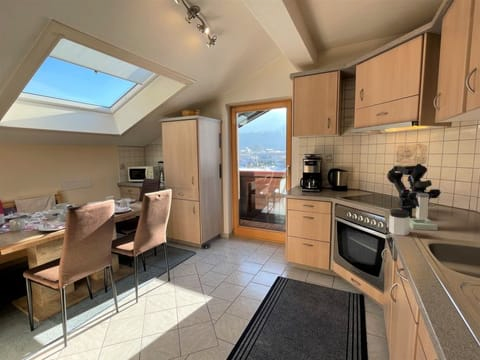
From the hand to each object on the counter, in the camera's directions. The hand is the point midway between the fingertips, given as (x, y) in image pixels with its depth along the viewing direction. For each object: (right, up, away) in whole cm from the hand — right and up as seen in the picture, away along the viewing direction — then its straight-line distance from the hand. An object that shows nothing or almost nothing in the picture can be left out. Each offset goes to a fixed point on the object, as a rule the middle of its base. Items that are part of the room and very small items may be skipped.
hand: (423, 206), depth 132 cm
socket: (+2, -12, +4) cm, 13 cm away
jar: (-16, -14, -3) cm, 21 cm away
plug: (+1, -7, +2) cm, 7 cm away
